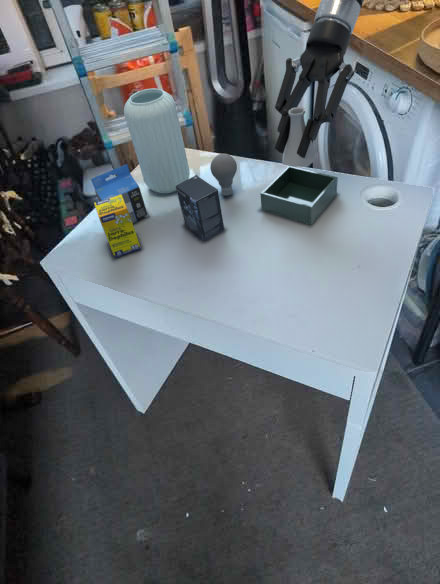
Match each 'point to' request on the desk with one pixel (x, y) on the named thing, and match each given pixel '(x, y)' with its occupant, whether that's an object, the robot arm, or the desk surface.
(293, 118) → the flask
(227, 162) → the light bulb
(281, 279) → the desk surface
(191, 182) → the box
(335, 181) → the caddy
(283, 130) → the robot arm
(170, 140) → the vase
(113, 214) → the supplement box
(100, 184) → the tape cartridge
